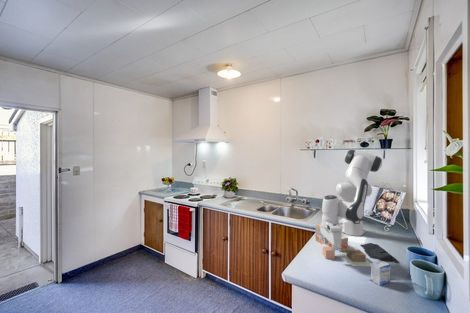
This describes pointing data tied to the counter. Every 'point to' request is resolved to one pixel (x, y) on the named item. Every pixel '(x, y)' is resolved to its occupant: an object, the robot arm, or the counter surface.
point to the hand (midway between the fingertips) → (329, 247)
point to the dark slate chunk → (378, 252)
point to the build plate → (355, 262)
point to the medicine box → (380, 272)
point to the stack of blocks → (320, 239)
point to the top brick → (328, 253)
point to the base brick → (356, 255)
